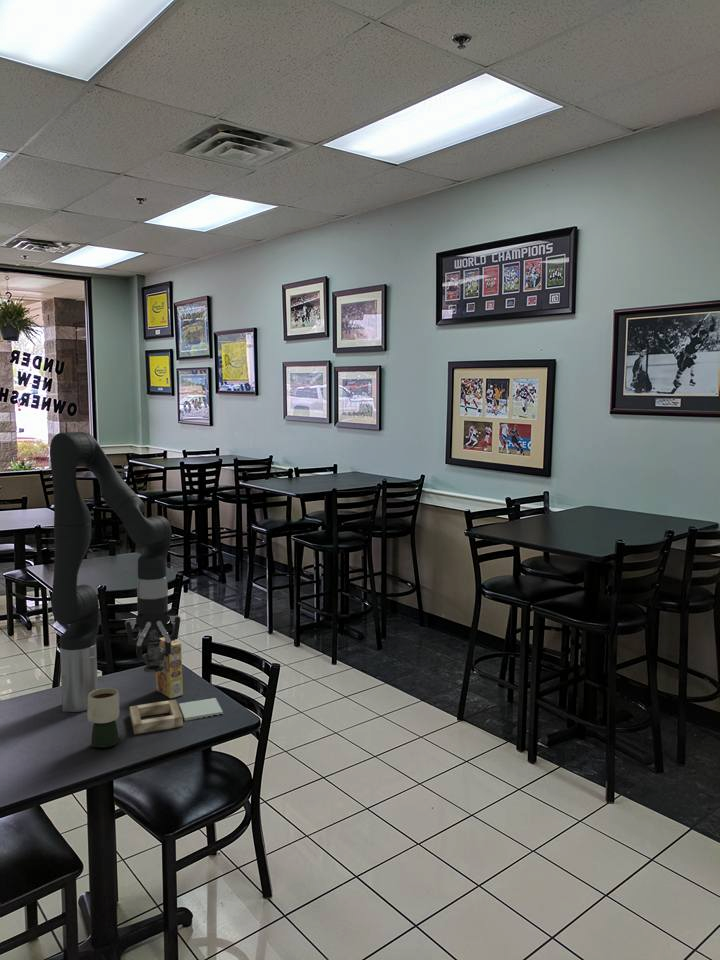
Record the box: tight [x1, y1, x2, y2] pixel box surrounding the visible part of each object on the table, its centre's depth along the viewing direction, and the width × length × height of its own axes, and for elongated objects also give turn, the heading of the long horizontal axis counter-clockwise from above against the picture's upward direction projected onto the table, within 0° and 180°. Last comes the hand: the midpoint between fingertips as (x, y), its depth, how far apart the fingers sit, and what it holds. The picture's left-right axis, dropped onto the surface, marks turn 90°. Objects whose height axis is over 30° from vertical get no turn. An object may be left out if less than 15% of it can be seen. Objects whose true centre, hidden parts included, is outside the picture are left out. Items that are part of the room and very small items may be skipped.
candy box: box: [155, 636, 184, 699], centre depth 203 cm, size 9×4×15 cm, turn 44°
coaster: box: [178, 697, 224, 722], centre depth 192 cm, size 10×10×1 cm
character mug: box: [86, 687, 120, 748], centre depth 171 cm, size 11×7×13 cm, turn 161°
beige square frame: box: [129, 698, 184, 735], centre depth 185 cm, size 12×12×2 cm
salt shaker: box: [143, 630, 165, 673], centre depth 183 cm, size 6×6×12 cm
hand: (153, 657), depth 184 cm, fingers closed on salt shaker, 6 cm apart
